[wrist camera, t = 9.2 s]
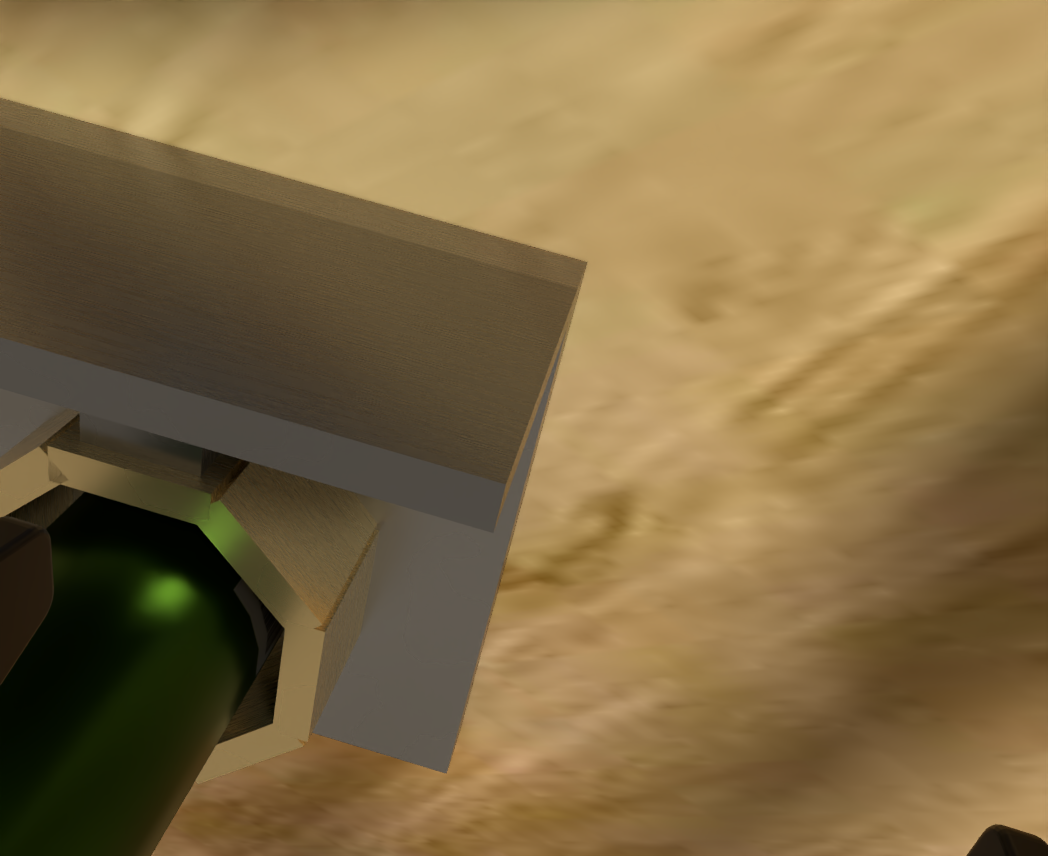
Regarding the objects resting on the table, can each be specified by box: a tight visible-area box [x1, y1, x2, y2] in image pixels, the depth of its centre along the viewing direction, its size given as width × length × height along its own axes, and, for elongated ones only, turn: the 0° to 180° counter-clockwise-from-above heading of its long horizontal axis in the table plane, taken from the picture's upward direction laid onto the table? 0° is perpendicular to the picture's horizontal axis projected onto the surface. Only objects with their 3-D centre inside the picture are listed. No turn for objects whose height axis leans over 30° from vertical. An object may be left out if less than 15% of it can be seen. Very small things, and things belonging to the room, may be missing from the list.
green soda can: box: [0, 492, 284, 856], centre depth 18 cm, size 5×5×12 cm
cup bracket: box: [0, 98, 587, 784], centre depth 20 cm, size 14×14×8 cm
